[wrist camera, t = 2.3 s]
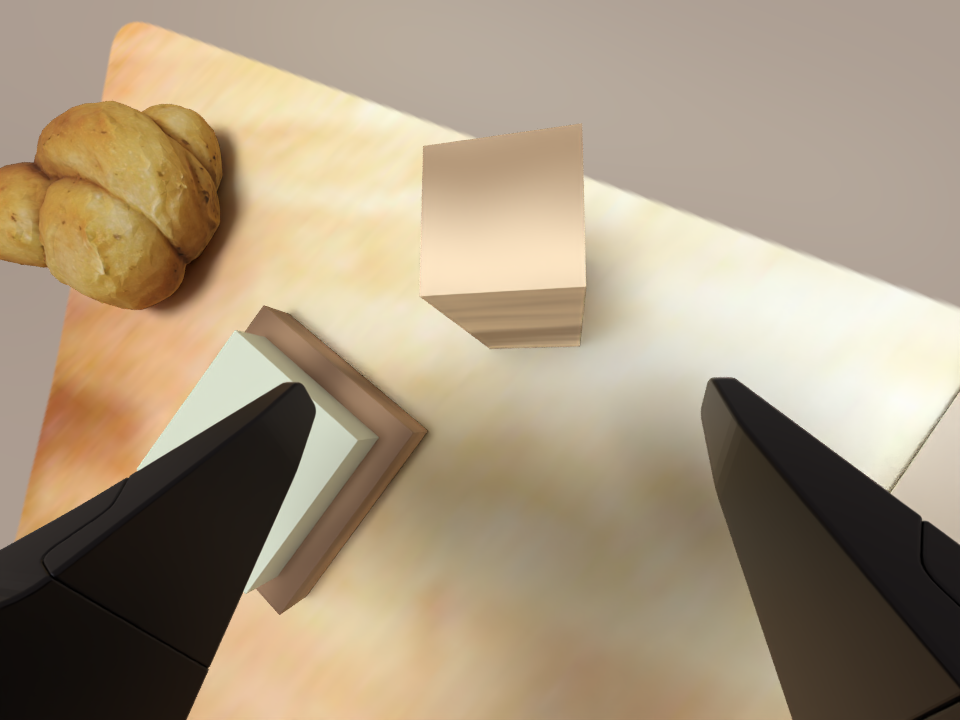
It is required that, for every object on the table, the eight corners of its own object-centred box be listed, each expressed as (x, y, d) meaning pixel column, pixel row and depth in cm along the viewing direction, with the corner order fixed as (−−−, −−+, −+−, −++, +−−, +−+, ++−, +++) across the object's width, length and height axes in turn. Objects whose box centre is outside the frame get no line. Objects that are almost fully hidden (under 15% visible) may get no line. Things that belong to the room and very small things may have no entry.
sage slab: (379, 437, 20) (358, 440, 18) (277, 576, 20) (245, 594, 18) (265, 337, 22) (235, 329, 20) (174, 464, 22) (136, 469, 20)
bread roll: (195, 112, 28) (47, -5, 20) (286, 182, 25) (159, 81, 18) (86, 263, 28) (-98, 207, 20) (166, 347, 26) (-10, 319, 18)
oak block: (579, 346, 20) (586, 286, 10) (490, 348, 21) (419, 296, 11) (577, 258, 21) (582, 123, 11) (490, 264, 22) (423, 145, 12)
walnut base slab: (427, 430, 21) (413, 432, 19) (305, 596, 22) (279, 615, 20) (288, 313, 24) (263, 305, 22) (182, 462, 24) (148, 467, 22)
